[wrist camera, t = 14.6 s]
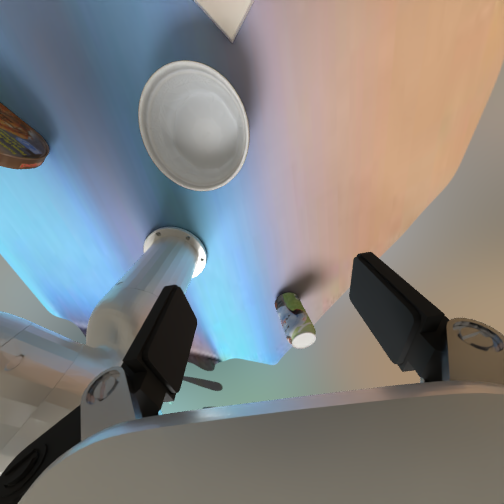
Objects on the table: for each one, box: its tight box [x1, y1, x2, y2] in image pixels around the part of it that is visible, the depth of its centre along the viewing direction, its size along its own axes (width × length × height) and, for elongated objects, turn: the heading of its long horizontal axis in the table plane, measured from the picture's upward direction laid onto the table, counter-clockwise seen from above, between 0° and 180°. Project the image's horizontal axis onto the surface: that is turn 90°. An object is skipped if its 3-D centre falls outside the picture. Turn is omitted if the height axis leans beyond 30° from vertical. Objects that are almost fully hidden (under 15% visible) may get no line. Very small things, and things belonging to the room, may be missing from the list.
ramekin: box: [138, 60, 250, 191], centre depth 25 cm, size 13×13×7 cm
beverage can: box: [275, 293, 316, 349], centre depth 41 cm, size 6×7×12 cm
